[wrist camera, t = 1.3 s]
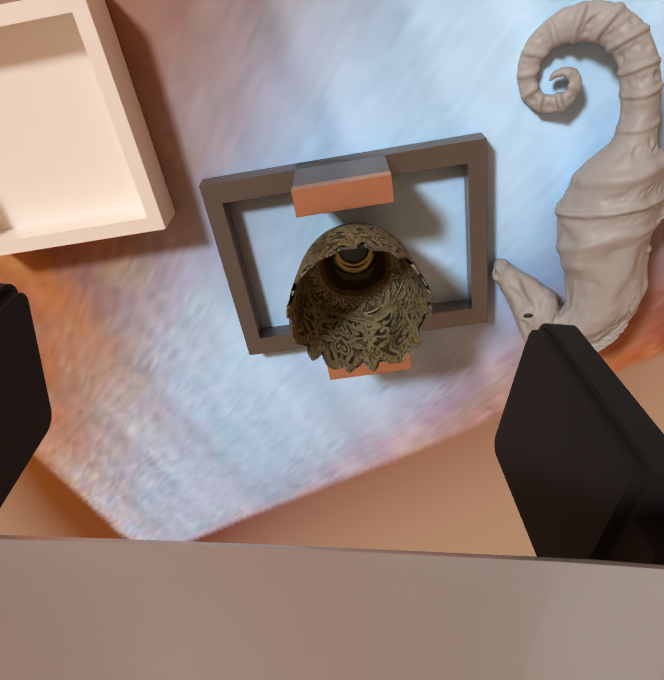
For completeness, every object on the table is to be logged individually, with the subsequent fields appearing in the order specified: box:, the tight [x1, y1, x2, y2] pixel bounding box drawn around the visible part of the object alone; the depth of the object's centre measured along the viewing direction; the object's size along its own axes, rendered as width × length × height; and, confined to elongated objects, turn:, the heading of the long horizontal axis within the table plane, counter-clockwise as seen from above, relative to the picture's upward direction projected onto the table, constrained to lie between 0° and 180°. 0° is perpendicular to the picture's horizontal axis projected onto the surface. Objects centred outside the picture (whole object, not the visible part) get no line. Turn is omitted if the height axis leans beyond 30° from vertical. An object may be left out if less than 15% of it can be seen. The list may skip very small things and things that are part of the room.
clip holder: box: [199, 133, 488, 380], centre depth 33 cm, size 16×12×5 cm
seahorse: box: [492, 0, 664, 352], centre depth 31 cm, size 5×12×20 cm
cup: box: [287, 223, 433, 373], centre depth 32 cm, size 8×7×8 cm
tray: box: [0, 0, 176, 256], centre depth 30 cm, size 12×12×2 cm
